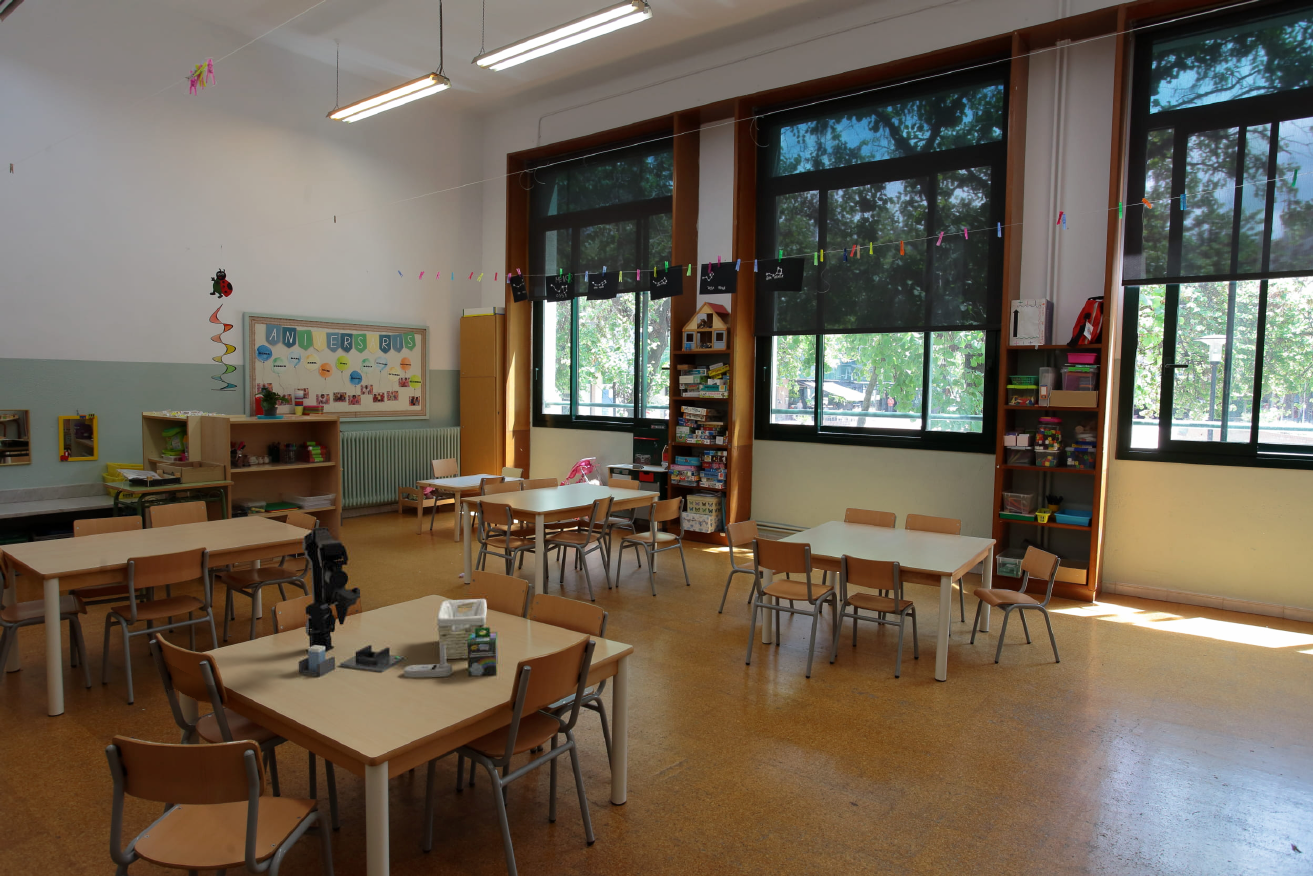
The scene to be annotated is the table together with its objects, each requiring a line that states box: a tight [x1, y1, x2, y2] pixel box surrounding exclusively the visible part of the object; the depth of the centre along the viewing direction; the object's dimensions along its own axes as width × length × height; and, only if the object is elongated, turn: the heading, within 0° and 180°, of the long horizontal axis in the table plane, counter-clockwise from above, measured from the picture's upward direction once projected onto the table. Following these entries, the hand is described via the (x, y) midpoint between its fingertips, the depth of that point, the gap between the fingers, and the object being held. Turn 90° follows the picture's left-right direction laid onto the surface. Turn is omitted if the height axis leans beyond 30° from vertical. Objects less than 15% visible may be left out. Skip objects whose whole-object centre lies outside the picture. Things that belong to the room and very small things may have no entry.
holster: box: [298, 656, 336, 678], centre depth 248 cm, size 8×7×4 cm
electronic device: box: [403, 644, 453, 679], centre depth 247 cm, size 5×10×15 cm
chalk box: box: [467, 626, 499, 677], centre depth 250 cm, size 9×9×15 cm
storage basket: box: [437, 598, 488, 660], centre depth 271 cm, size 24×16×15 cm
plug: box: [307, 645, 326, 671], centre depth 248 cm, size 4×3×8 cm
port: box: [339, 644, 405, 673], centre depth 256 cm, size 16×12×4 cm
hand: (332, 628), depth 250 cm, fingers open, 9 cm apart
